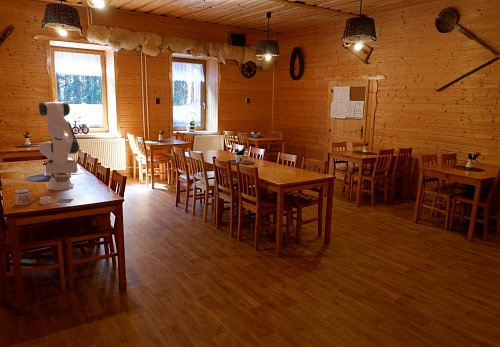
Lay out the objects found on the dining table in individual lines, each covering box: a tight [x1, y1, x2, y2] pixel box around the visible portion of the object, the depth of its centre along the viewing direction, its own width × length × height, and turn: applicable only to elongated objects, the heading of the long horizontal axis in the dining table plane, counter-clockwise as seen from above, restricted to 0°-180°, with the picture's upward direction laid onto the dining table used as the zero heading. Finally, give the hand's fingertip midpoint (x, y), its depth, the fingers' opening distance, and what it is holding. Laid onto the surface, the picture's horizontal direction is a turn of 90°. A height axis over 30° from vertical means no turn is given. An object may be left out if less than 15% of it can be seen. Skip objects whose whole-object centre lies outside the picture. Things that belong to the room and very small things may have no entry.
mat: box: [55, 198, 74, 204], centre depth 269 cm, size 12×10×1 cm
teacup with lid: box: [13, 186, 35, 206], centre depth 264 cm, size 12×9×12 cm
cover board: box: [56, 175, 69, 182], centre depth 266 cm, size 9×6×3 cm, turn 11°
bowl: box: [39, 195, 53, 205], centre depth 263 cm, size 6×6×5 cm
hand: (62, 179), depth 266 cm, fingers closed on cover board, 6 cm apart
